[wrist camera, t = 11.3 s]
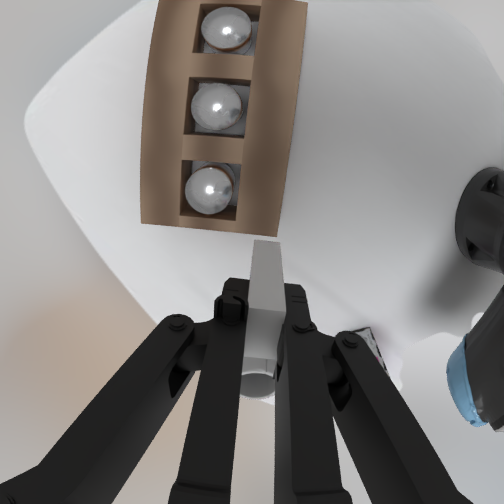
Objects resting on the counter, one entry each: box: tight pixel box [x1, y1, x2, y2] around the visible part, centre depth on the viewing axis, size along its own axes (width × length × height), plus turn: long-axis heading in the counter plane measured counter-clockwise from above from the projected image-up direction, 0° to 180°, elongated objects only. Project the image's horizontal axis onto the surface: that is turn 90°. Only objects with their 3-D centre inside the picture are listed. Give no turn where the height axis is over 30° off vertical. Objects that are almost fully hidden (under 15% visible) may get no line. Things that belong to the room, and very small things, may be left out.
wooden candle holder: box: [140, 0, 308, 237], centre depth 25 cm, size 14×24×5 cm, turn 174°
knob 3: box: [185, 162, 235, 214], centre depth 28 cm, size 4×4×5 cm
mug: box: [240, 354, 277, 399], centre depth 36 cm, size 8×12×12 cm, turn 70°
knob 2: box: [191, 83, 243, 130], centre depth 25 cm, size 4×4×5 cm
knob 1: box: [201, 7, 252, 55], centre depth 21 cm, size 4×4×5 cm
